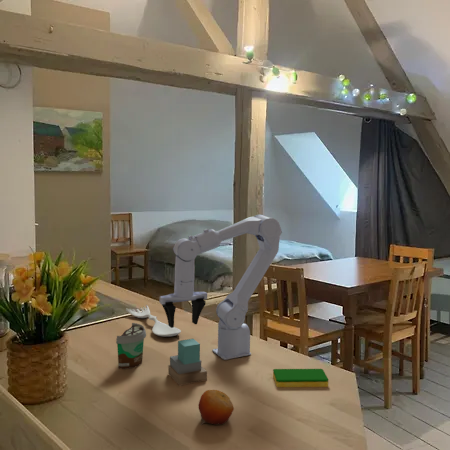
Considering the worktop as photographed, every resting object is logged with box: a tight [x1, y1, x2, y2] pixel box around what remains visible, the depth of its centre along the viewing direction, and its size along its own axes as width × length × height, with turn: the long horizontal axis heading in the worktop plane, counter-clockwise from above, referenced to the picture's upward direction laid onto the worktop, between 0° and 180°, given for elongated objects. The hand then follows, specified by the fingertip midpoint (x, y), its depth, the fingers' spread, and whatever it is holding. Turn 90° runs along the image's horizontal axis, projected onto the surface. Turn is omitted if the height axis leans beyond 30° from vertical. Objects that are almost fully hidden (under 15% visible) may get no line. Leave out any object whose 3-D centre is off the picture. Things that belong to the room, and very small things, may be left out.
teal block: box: [177, 338, 201, 365], centre depth 139 cm, size 4×4×5 cm
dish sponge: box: [272, 368, 329, 388], centre depth 139 cm, size 7×14×2 cm, turn 93°
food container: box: [115, 322, 147, 370], centre depth 149 cm, size 12×6×10 cm, turn 168°
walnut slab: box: [167, 364, 208, 387], centre depth 141 cm, size 8×8×3 cm
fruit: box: [198, 389, 235, 426], centre depth 118 cm, size 8×8×8 cm
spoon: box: [125, 304, 182, 338], centre depth 181 cm, size 9×32×4 cm, turn 32°
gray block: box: [169, 354, 202, 374], centre depth 141 cm, size 6×6×2 cm
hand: (183, 325), depth 152 cm, fingers open, 7 cm apart
